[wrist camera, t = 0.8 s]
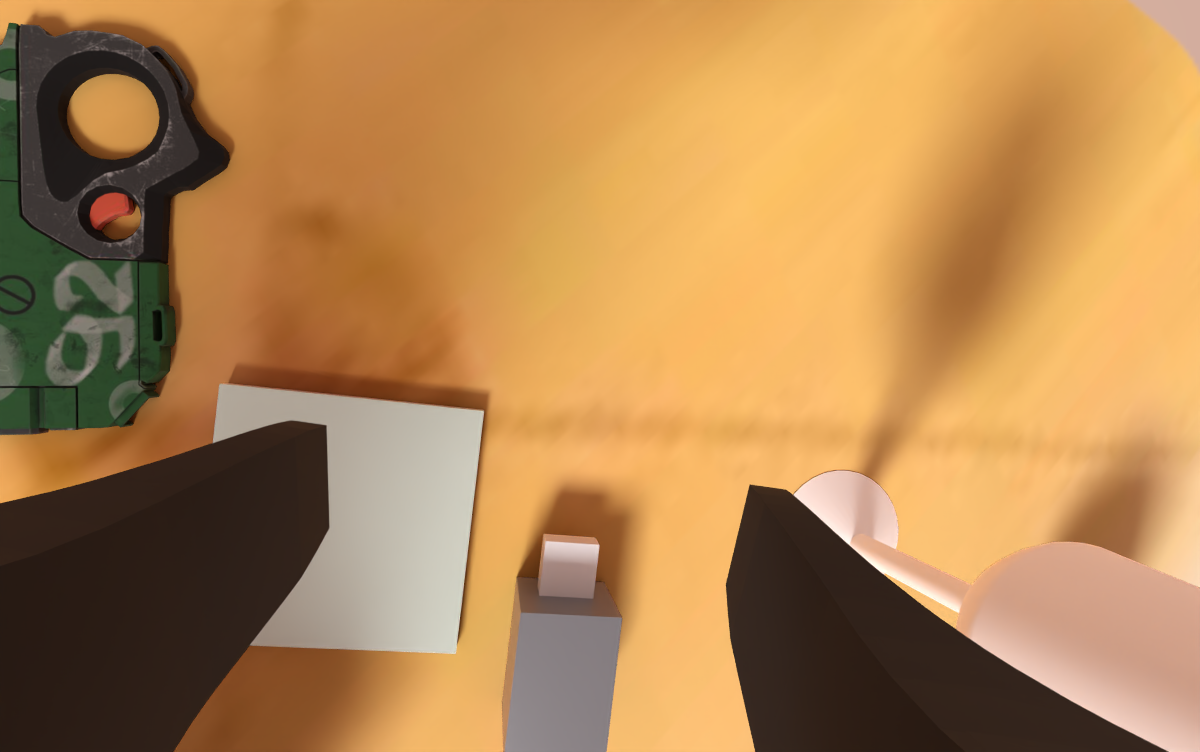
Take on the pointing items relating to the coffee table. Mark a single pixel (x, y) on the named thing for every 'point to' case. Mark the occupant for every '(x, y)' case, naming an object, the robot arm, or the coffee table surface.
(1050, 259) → the coffee table surface
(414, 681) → the coffee table surface
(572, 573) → the connector plug
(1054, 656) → the champagne flute
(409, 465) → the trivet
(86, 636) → the robot arm
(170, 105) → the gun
